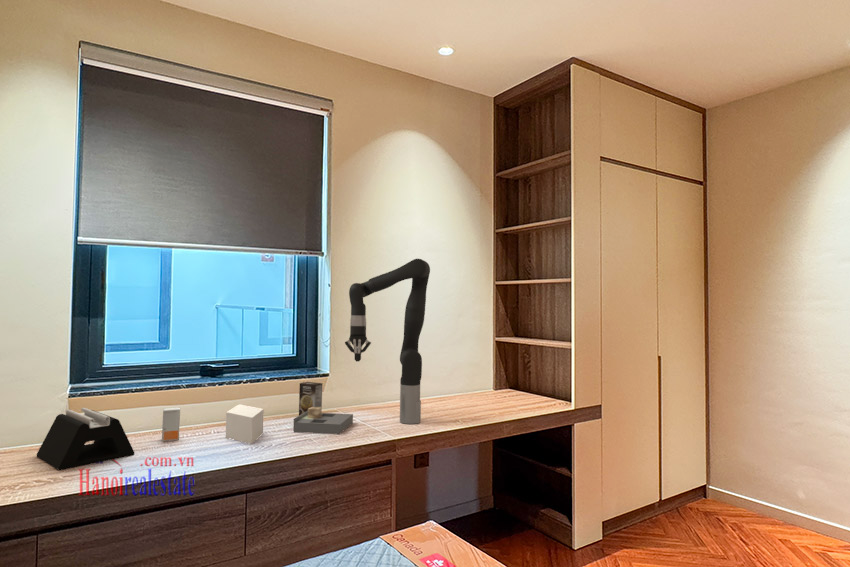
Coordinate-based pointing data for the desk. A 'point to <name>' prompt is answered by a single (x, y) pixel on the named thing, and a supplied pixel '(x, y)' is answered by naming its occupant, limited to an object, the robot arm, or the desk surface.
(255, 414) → the beige rectangular block
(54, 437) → the device stand
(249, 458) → the desk surface
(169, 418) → the skincare box
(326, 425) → the plate
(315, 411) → the block
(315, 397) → the coffee box
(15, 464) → the desk surface
